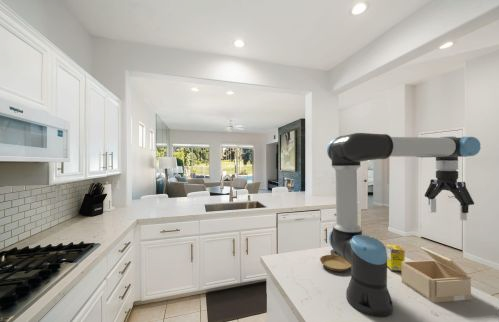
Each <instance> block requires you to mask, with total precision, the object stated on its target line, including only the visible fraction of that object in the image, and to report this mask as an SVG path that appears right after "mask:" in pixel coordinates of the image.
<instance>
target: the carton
mask: <svg viewBox="0 0 499 322" xmlns="http://www.w3.org/2000/svg"><path fill="white" fill-rule="evenodd" d="M401 265H402V272H401V283H402V284H404V285H405V286H407V287H408V288H409V289H411V290H412V291H413V292H414V291H415V292H416V293H418V294H419V295H420V296H422V297H423V298H426V299H427V300H428V301H429V302H431V303H432V304H433V303H447V302H459V301H471V299H472V295H471V294H472V282H471V281H472V280H471V279H472V278H471V277H470V276H468V275H465V274H463V273H460V272H458V271H456V270H454V269H452V268H450V267H448V266H446V265H444V264H442V263H440V262H438V261H435V260H434V259H427V260H426V259H425V260H407V261H403V262H401Z"/></svg>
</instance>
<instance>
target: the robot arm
mask: <svg viewBox="0 0 499 322" xmlns="http://www.w3.org/2000/svg"><path fill="white" fill-rule="evenodd" d="M480 151H481V142H480V140H479V139H478V138H477V137H475V136H461V137H457V136H439V137H431V136H430V137H427V136H426V137H425V136H424V137H423V136H421V137H418V136H416V137H415V136H402V137H401V136H391V135H389V134H386V133H383V134H382V133H369V132H367V133H366V132H354V133H350V134H345V135H340V136H337V137H336V138H334V139H332V140H331V141H330V142H329V143H328V145H327V149H326V154H327V156H328V158H329V160H330V161H331V167H332V168H333V169H334V170H335V204H336V206H335V207H336V208H335V209H336V210H335V211H336V222H335V223H334V224H333V225H332V230H331V231H330V232H329V235H328V240H329V244H330V247H331V248H332V249H334V250H335V252H336V253H337V254H339V255H340V256H342V257H343V258H344V259H345V260H346V261H347V262H349V263H350V264H351V266H350V276H351V277H350V280H349V283H348V286H347V287H346V293H345V296H346V300H347V302H348V304H350V306H351V307H352V308H354V309H355V310H356V311H357V312H360V313H362V314H364V315H366V316H370V317H374V318H388V317H389V316H392V315H393V313H394V303H393V300H392V297H391V294H390V292H389V289H388V267H387V252H386V244H384V243H383V242H382V241H381V240H379V239H377V238H375V237H373V236H372V237H371V236H369V235H365V234H364V235H363V228H362V227H361V226H360V225H359V221H358V219H359V215H358V211H359V210H358V179H357V178H358V173H357V171H358V170H359V168H360V167H361V166H362V165H361V162H366V161H374V160H387V159H389V158H390V157H393V158H394V157H395V158H396V157H399V158H400V157H403V158H404V157H406V158H407V157H411V158H413V157H415V158H420V159H421V158H422V159H423V158H435V169H436V170H435V178H436V179H430V181H429V182H430V183H429V185H428V188H427V189H426V192H425V193H424V197H425V198H427V199H428V205H429V213H437V199H436V197H438V195H439V194H440V193H441V192H442V191H449V192H450V193H452V195H454V197H455V199H456V200H457V201H458V202H459V205H458V220H459V221H467V220H468V218H467V217H468V215H467V214H469V206H473V205H475V202H474V199H473V198H472V196H471V194H470V192H469V190H468V189H467V187H466V186H467V185H466V182H465V181H458V179H459V171H458V170H459V158H460V157H462V158H465V157H474V156H476V155H477V154H479V153H480Z"/></svg>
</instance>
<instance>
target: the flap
mask: <svg viewBox="0 0 499 322" xmlns="http://www.w3.org/2000/svg"><path fill="white" fill-rule="evenodd" d="M421 250H422V251H424V252H425V254H427V255H428V256H429V257H431V258H432V260H435V261H437V262H439V263H441V264H443V265H445V266H447V267H450V268H452V269H454V270H456V271H458V272H460V273H462V274H464V275H466V276H468V273H467V272H466V271H465V270H464V269H462V268H461V267H460V266H459V265H458V264H457V263H456V262H454V260H452V259H450V258H448V257H446V256H443V255H441V254H439V253H436V252H435V251H433V250H430V249H428V248H426V247H422V246H421Z"/></svg>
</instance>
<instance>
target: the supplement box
mask: <svg viewBox="0 0 499 322" xmlns="http://www.w3.org/2000/svg"><path fill="white" fill-rule="evenodd" d="M385 247H386V252H387V269H389V271H390V272H393V273H402V265H401V262H403V261H405V249H404V248H402V247H401V246H400V245H397V244H385Z"/></svg>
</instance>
